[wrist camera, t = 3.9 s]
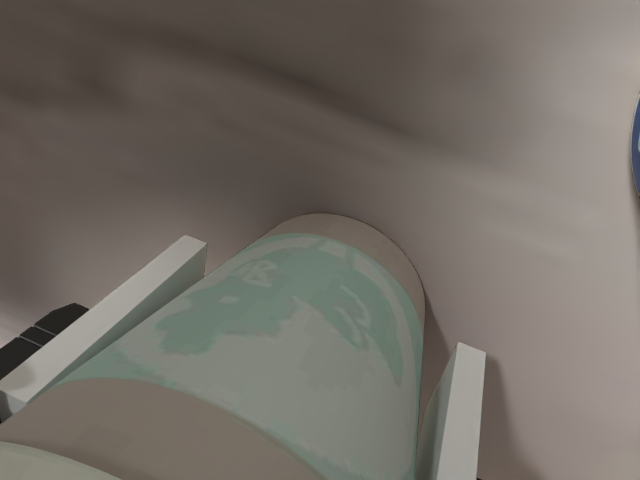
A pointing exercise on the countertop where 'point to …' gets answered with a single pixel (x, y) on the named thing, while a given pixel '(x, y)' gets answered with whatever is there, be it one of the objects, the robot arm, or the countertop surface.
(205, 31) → the countertop surface
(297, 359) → the coffee cup
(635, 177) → the beverage bottle
